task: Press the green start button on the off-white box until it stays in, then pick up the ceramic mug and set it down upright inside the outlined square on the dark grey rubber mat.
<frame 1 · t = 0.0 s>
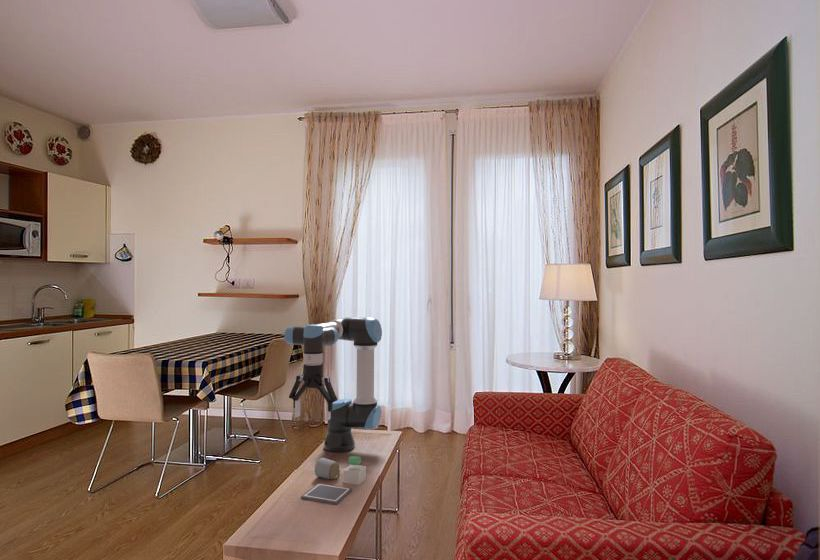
hand: (312, 418, 190), 28 cm above the table, tool pointing down, fingers open, 13 cm apart
start button: (354, 460, 200), point 8 cm above the table, slide at 0.0 cm
button box: (354, 480, 200), on the table
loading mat: (327, 494, 186), on the table
ceramic mug: (328, 477, 203), on the table
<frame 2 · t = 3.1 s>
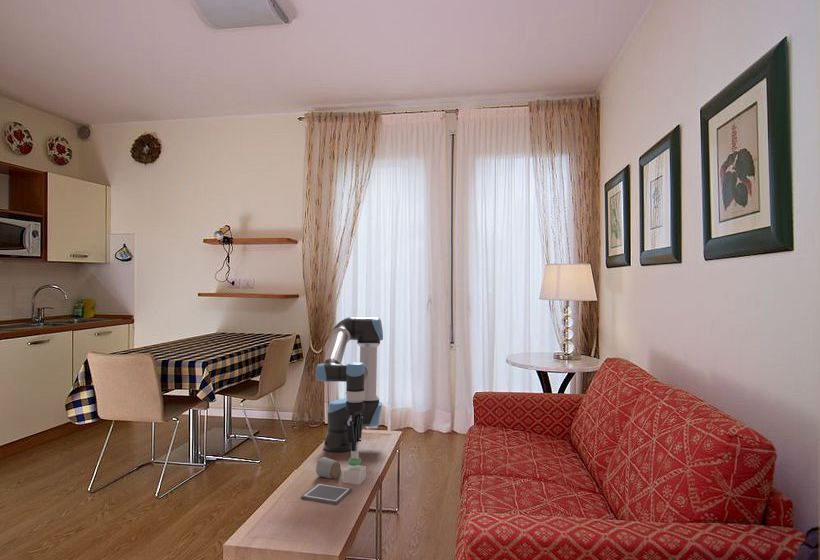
hand: (354, 458, 200), 9 cm above the table, tool pointing down, fingers closed
start button: (354, 460, 200), point 8 cm above the table, slide at 0.3 cm, touching gripper
everything else where it was.
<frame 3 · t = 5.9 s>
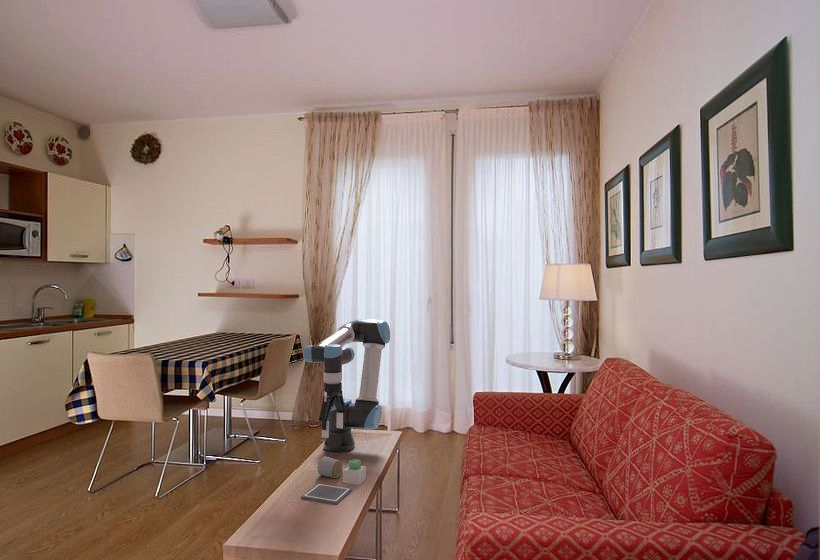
hand: (332, 432, 203), 18 cm above the table, tool pointing down, fingers open, 13 cm apart
start button: (354, 463, 200), point 7 cm above the table, slide at 1.4 cm
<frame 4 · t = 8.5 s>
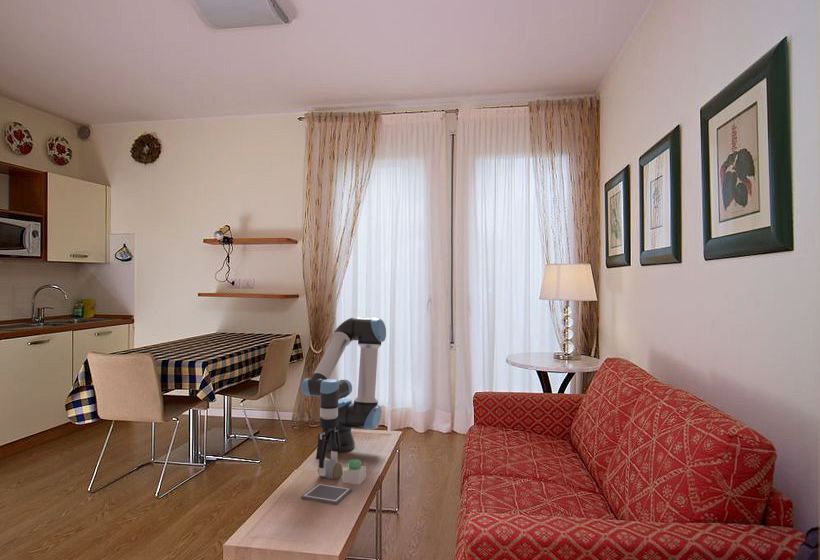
hand: (328, 470, 203), 2 cm above the table, tool pointing down, fingers open, 9 cm apart
ceramic mug: (331, 477, 205), on the table, touching gripper
everything else where it was.
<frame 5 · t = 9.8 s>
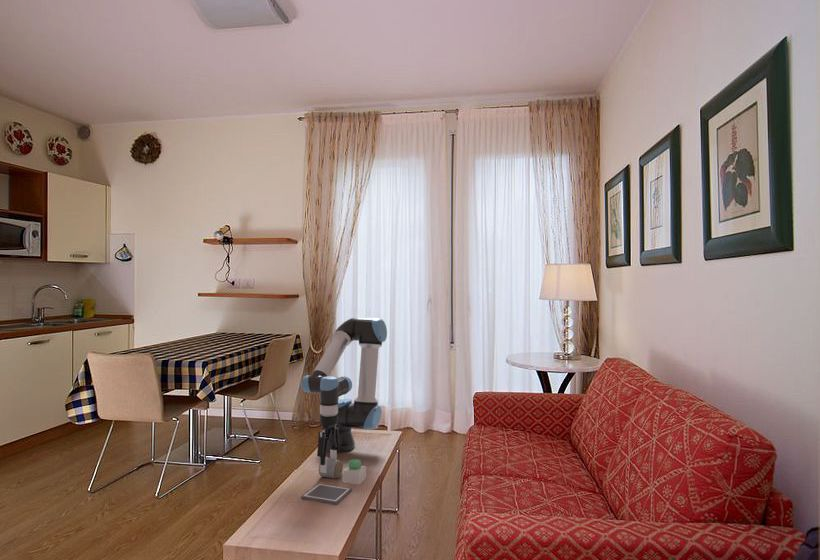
hand: (328, 468, 203), 3 cm above the table, tool pointing down, fingers closed on ceramic mug, 8 cm apart
ceramic mug: (331, 476, 204), on the table, touching gripper
everything else where it was.
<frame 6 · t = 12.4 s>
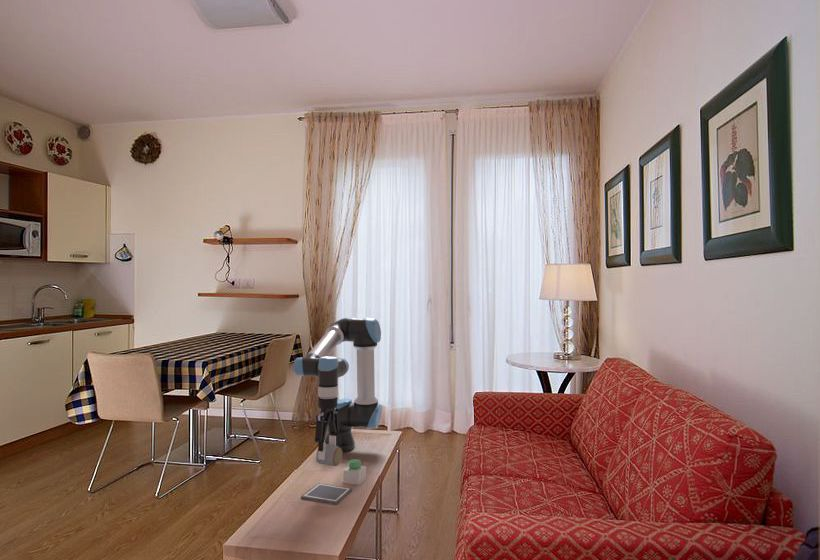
hand: (327, 455, 189), 14 cm above the table, tool pointing down, fingers closed on ceramic mug, 8 cm apart
ceramic mug: (330, 463, 190), point 10 cm above the table, touching gripper
everything else where it was.
when the fingers open (4 cm above the table, at t = 15.3 s): ceramic mug stays where it is, resting on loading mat.
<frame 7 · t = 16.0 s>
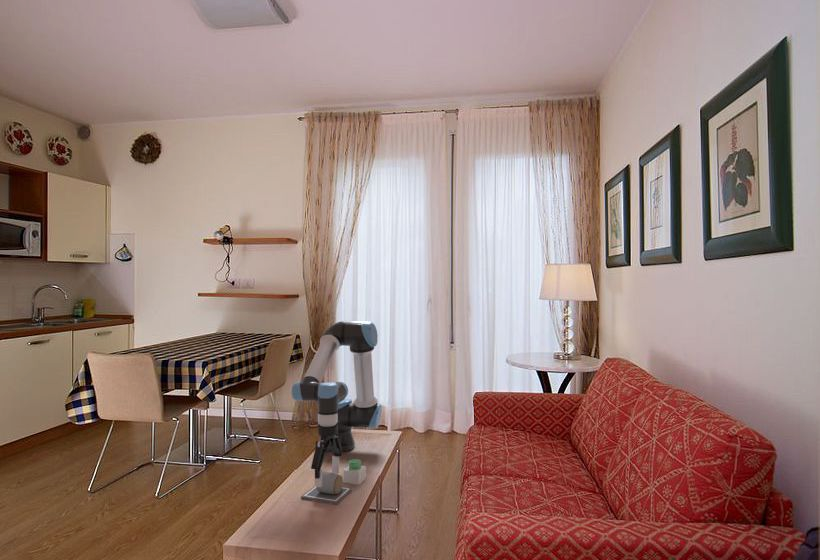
hand: (327, 479, 186), 6 cm above the table, tool pointing down, fingers open, 13 cm apart
ceramic mug: (331, 491, 187), point 1 cm above the table, touching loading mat
everything else where it was.
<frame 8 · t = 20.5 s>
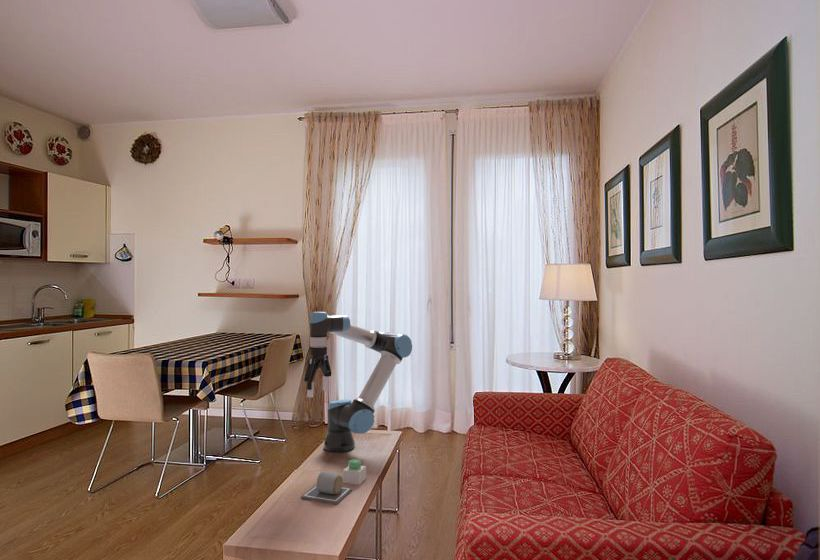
hand: (318, 393, 217), 32 cm above the table, tool pointing down, fingers open, 13 cm apart
nothing on the table moved.
at the end: start button slide at 1.4 cm; ceramic mug inside the target area on the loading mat (1.6 cm from its centre), point 0.6 cm above the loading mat's base; ceramic mug tilted 1° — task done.
